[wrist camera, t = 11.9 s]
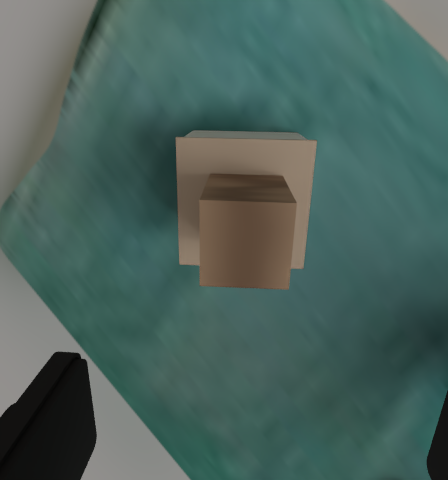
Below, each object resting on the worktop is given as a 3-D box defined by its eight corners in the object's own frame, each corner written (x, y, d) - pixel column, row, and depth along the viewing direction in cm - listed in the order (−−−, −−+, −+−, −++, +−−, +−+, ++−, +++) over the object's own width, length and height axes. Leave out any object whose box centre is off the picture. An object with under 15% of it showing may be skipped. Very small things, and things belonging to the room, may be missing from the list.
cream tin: (299, 130, 32) (316, 140, 24) (290, 232, 35) (303, 268, 28) (191, 127, 32) (175, 137, 25) (192, 229, 36) (179, 264, 28)
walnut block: (282, 175, 25) (296, 203, 19) (277, 243, 27) (288, 289, 21) (210, 173, 26) (199, 200, 19) (209, 240, 27) (199, 285, 21)
